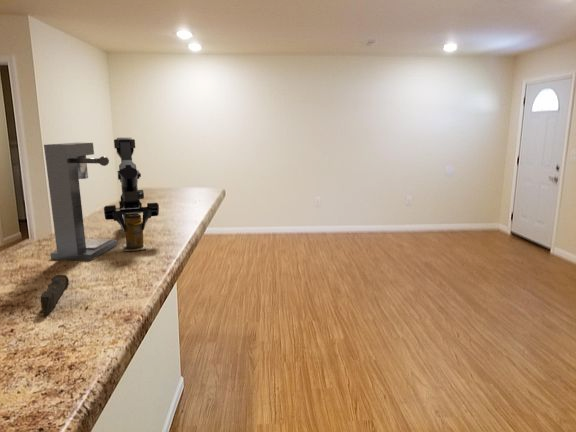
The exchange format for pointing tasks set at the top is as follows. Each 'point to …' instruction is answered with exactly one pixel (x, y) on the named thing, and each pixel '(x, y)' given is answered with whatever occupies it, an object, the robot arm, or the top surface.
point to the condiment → (134, 233)
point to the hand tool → (53, 293)
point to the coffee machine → (71, 200)
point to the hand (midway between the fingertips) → (134, 230)
